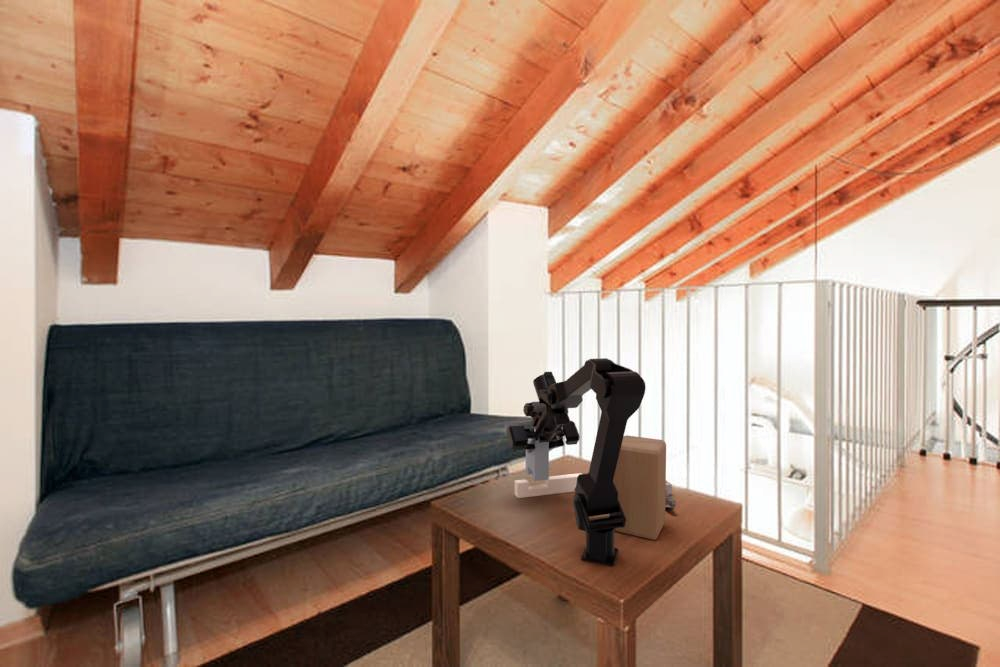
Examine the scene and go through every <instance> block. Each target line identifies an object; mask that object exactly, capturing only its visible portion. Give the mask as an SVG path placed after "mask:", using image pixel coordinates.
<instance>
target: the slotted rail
mask: <svg viewBox="0 0 1000 667" xmlns="http://www.w3.org/2000/svg"><path fill="white" fill-rule="evenodd" d="M579 474H583V473H582V472H579V473H571V474H569V473H568V474H562V475H561V474H560V475H552V476H551V475H550V476H549V480H544V483H543V484H535V485H530V482H529V481H528V480H527V479H525V478H524V479H517V480H514V496H515V497H516V499H524V498H530V497H538V496H539V497H540V496H541V497H542V496H548V495H556V494H564V493H572V492H576V491H575V490H574V489H575V487H576V484H577V477H578V476H579Z"/></svg>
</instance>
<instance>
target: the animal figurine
mask: <svg viewBox="0 0 1000 667" xmlns="http://www.w3.org/2000/svg"><path fill="white" fill-rule="evenodd" d="M665 508H669V509H672V508H673V509H674V508H677V506H676V500H675V499H674V498H673V497H672V496H671V495H668V494H667V492H666V495H665Z"/></svg>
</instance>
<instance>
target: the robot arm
mask: <svg viewBox="0 0 1000 667" xmlns="http://www.w3.org/2000/svg"><path fill="white" fill-rule="evenodd" d="M553 374H554V373H553V372H552V371H544V373H543V374H541V375H539V376H537V377H536V378H534V379H533V382H532V383H533V387H534V390H535V392H536V396H537V400H538V401H531V402H526V403H525V404H524V405H523V413H524V416H525V417H528V418H529V417H530V418H531V419H532V420H531V423H530V424H531V426H532V427H534V428H525V426H524V425H525V424H524V425H523V424H521V423H518V424H510V425H509V426H508V428H507V429H506V433H507V434H506V435H507V437H508V440H509V445H510V448H511V449H512V450H514V451H517V450H525V451H526V450H527V453H530V452H531V451H533V450H534V449H535V445H534V443H535V441H539V443H541V442H549V451H551V450H554V449H557V448H561V447H564V446H565V444H566V445H567V446H570V445H577V444H578V442H579V441H580V433H579V431H578V428H577V425H576V423H575V422H574V420H571V419H570V417H569V409H576V408H579V405H580V404H581V403H583V396H584V395H585V394H586V393H588V392H589V391H590V390H592V391H593V392H594V394H595V399H596V403H597V404H598V407H599V409H600V411H601V412H600V417H599V421H598V427H597V432H596V436H595V442H594V444H593V445H594V446H593V451H592V457H591V460H590V466H589V470H588V472H587V473H582V474H579V476H578V477H577V484H576V487H575V489H574V490H575V491H574V495H573V500H572V502H573V503H572V504H573V510H574V517H575V522H576V524H577V529H578V530H579V531H584V532H585V547H584V549H583V551H582V553H581V556H580V560H581V561H586V562H590V563H596V564H600V565H606V566H611V567H614V566H615V563H616V561H617V557H618V554H619V548H617V547H615V545H616V544H615V540H616V539H615V537H616V536H615V535H616V534H615V532H616V531H615V528H624V527H625V523H626V518H625V515H624V513H623V510H622V508H621V505H620V503H619V500H618V491H617V489H616V487H615V485H614V482H613V479H614V475H615V471H616V466H617V462H618V458H619V454H620V449H621V445H622V441H623V437H624V436H625V432H626V428H627V424H628V420H629V419H630V418H631V416H633V415H634V413H636V412H637V411H638V410H639V409H640V406H641V404H642V402H643V399H644V397H645V394H646V389H647V388H646V382H645V380H644V379H643V377H642V376H641V375H640V373H639V372H637V371H633V370H632V369H631V368H628V367H626V366H622V365H621V364H618V363H616V362H614V361H613V360H611V359H609V358H605V357H604V358H602V357H601V358H590V359H587V360H585V362H584V365H582V366H581V367H580V368H579V369H577V370H576V371H575V372H574V373H573V374H572V375H571V376H569V378H567V379H566V380H565V381H560V382H557V381H556V378H555V376H554V375H553ZM564 438H565V442H564ZM603 515H605V516H603ZM597 516H599V517H597ZM589 517H591V518H589Z"/></svg>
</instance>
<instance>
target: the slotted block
mask: <svg viewBox="0 0 1000 667" xmlns="http://www.w3.org/2000/svg"><path fill="white" fill-rule="evenodd" d="M534 445H535V449H534V450H533V451H531V452H530V453H527V450H525V474H526V475H532V480H533V481H534V482H538V481H545V480H549V477H550V474H549V473H550V470H549V469H550V460H549V459H550V458H549V457H550V450H549V442H541V443H539V441H535V443H534Z"/></svg>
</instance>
